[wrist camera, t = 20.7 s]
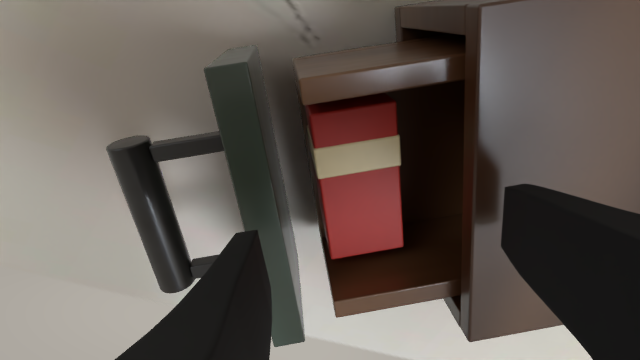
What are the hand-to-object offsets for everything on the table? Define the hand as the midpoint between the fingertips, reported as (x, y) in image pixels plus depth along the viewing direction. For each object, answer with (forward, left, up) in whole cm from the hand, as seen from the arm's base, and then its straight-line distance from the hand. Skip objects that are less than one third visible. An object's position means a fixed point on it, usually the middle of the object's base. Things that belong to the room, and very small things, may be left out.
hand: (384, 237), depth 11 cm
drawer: (0, 0, -7) cm, 7 cm away
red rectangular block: (0, 0, -6) cm, 6 cm away
